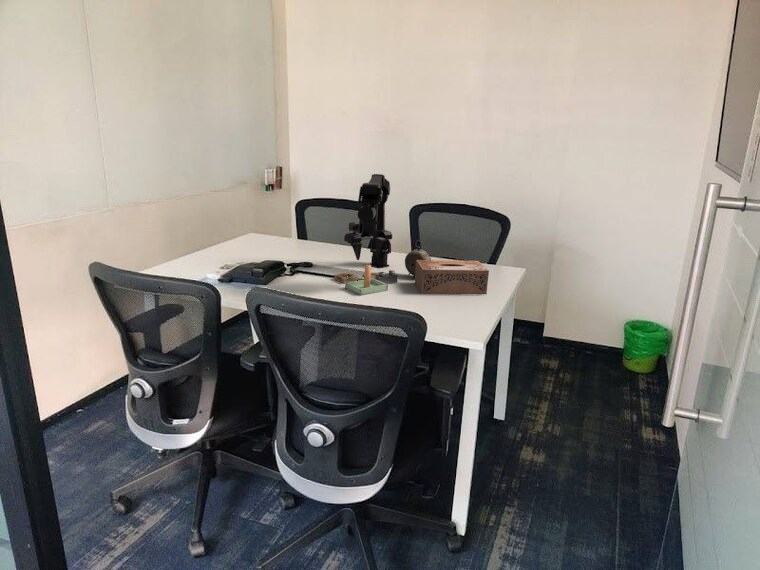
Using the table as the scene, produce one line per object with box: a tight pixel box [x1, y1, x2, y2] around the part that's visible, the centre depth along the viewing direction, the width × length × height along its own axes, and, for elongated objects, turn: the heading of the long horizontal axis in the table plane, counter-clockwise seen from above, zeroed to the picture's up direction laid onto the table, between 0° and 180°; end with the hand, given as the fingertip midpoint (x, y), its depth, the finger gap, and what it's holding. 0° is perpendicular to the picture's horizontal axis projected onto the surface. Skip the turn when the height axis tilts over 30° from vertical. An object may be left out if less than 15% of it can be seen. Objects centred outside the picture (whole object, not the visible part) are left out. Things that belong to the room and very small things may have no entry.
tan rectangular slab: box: [362, 271, 387, 279], centre depth 232 cm, size 10×7×2 cm
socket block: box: [333, 271, 359, 285], centre depth 230 cm, size 7×7×2 cm
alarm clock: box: [404, 239, 432, 280], centre depth 236 cm, size 11×5×16 cm, turn 55°
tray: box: [345, 278, 389, 297], centre depth 219 cm, size 13×10×2 cm
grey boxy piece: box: [375, 270, 399, 285], centre depth 228 cm, size 9×3×5 cm, turn 127°
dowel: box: [363, 264, 372, 288], centre depth 218 cm, size 2×2×9 cm
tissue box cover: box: [414, 259, 490, 295], centre depth 224 cm, size 26×14×10 cm, turn 97°
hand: (367, 258), depth 216 cm, fingers open, 9 cm apart
